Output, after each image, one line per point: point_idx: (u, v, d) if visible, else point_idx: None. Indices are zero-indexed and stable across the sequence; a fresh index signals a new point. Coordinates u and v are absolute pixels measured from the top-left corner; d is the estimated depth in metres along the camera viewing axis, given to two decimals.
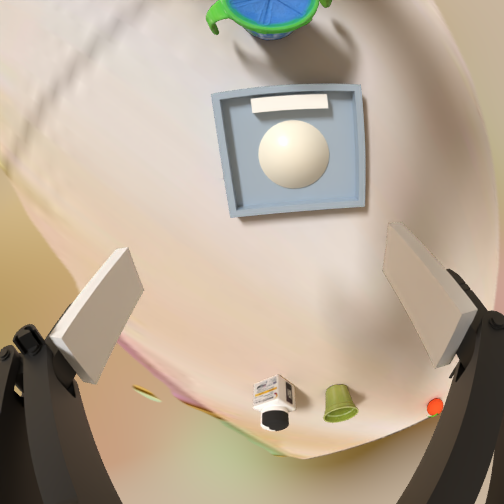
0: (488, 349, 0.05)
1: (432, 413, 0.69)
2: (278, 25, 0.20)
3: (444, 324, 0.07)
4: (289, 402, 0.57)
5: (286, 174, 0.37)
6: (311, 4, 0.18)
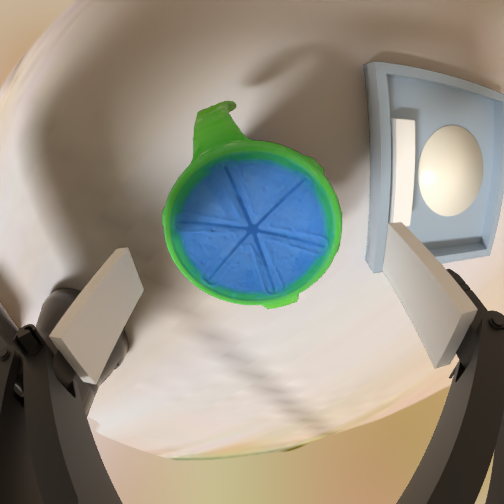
0: (488, 349, 0.05)
1: None
2: (330, 223, 0.15)
3: (444, 324, 0.07)
4: None
5: (469, 184, 0.22)
6: (276, 159, 0.13)
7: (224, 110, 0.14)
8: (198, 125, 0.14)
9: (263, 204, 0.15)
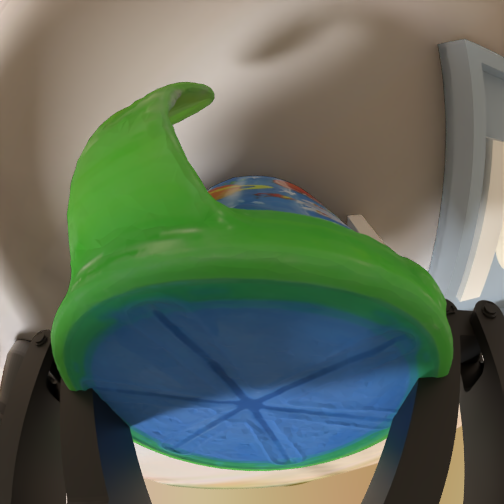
0: None
1: None
2: None
3: None
4: None
5: None
6: (334, 302, 0.04)
7: (156, 106, 0.04)
8: (82, 163, 0.04)
9: (277, 376, 0.06)
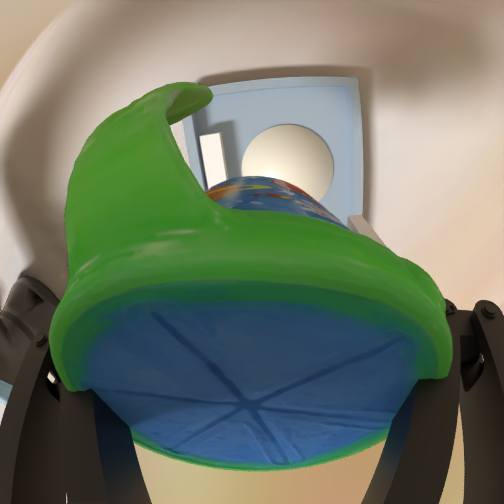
0: None
1: None
2: None
3: None
4: None
5: (313, 179, 0.28)
6: (331, 303, 0.04)
7: (153, 106, 0.04)
8: (79, 164, 0.04)
9: (275, 378, 0.05)
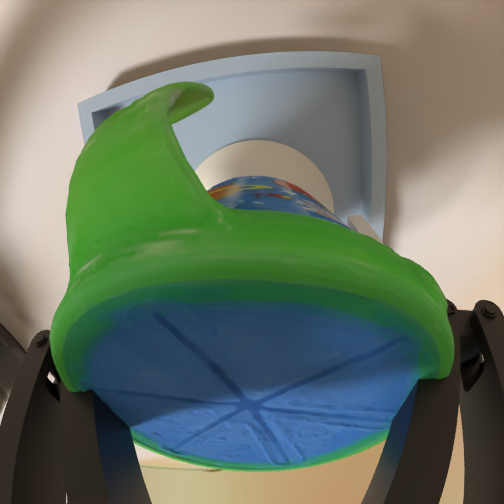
0: None
1: None
2: None
3: None
4: None
5: None
6: (334, 303, 0.04)
7: (155, 105, 0.04)
8: (81, 163, 0.04)
9: (277, 378, 0.05)
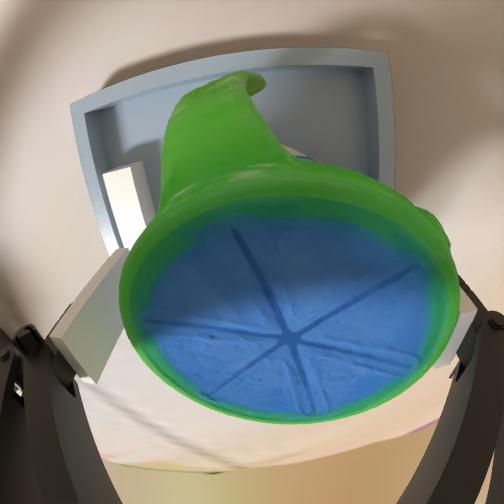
0: (488, 349, 0.05)
1: None
2: (433, 338, 0.06)
3: None
4: None
5: None
6: (364, 221, 0.05)
7: (236, 85, 0.05)
8: (174, 121, 0.06)
9: (317, 304, 0.07)
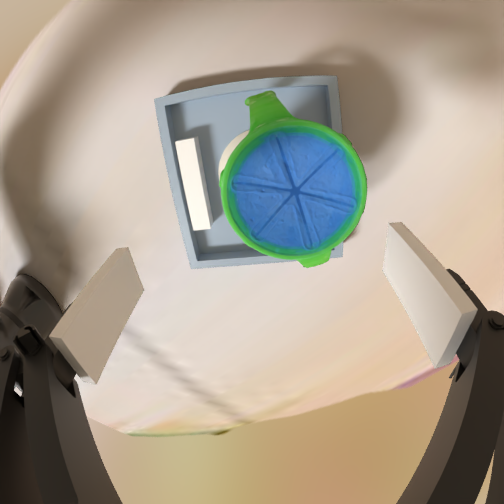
0: (488, 349, 0.05)
1: None
2: (358, 186, 0.18)
3: (444, 324, 0.07)
4: None
5: None
6: (316, 133, 0.16)
7: (273, 95, 0.17)
8: (253, 105, 0.17)
9: (305, 170, 0.18)
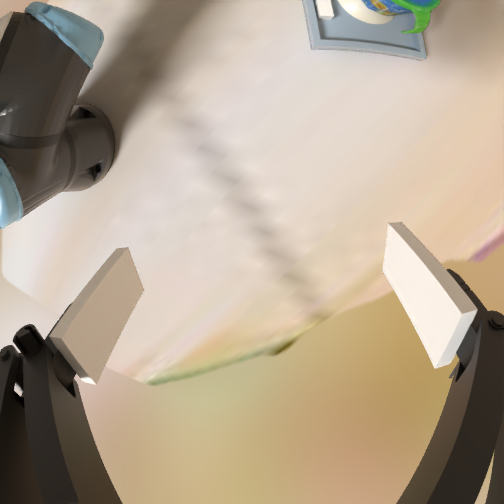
0: (488, 349, 0.05)
1: None
2: None
3: (444, 324, 0.07)
4: None
5: None
6: None
7: None
8: None
9: None
